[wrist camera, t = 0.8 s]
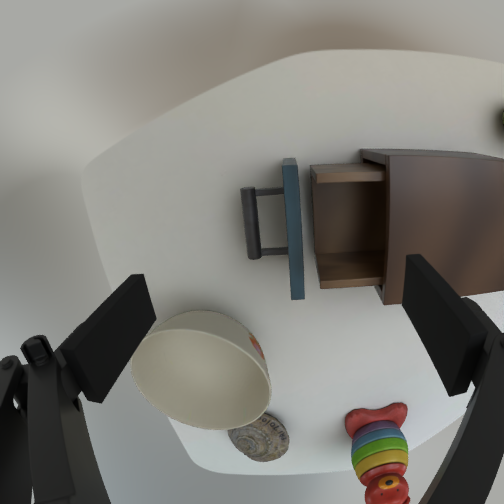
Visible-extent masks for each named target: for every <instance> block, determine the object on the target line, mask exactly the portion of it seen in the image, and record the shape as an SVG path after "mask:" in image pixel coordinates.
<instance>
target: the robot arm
mask: <svg viewBox="0 0 504 504" xmlns="http://www.w3.org/2000/svg"><path fill="white" fill-rule="evenodd" d="M402 306H403V308H404V310H405V311H406V313H407V315H408V317H409V318H410V320H411V322H412V324H413V326H414V328H415V329H416V331H417V333H418V335H419V337H420V339H421V341H422V342H423V344H424V346H425V348H426V350H427V352H428V354H429V356H430V358H431V360H432V362H433V364H434V366H435V368H436V370H437V372H438V374H439V376H440V378H441V380H442V382H443V385H444V387H445V389H446V391H447V393H448V395H449V397H451V396H455V395H458V394H462V393H466V392H467V390H468V387H469V385H470V382H471V380H472V382H473V384H474V386H475V390H474V392H473V394H472V396H471V399H470V401H469V403H468V405H467V407H466V408H467V410H466V413H465V415H464V418H463V420H462V422H461V425H460V427H459V429H458V432H457V434H456V436H455V438H454V440H453V442H452V445H451V447H450V449H449V451H448V453H447V455H446V457H445V459H444V461H443V463H442V465H441V466H440V468H439V470H438V472H437V474H436V475H435V477H434V479H433V481H432V482H431V484H430V486H429V487H428V489H427V491H426V492H425V494H424V496H423V497H422V499H421V501H420V502H419V504H485V501H486V499H487V497H488V495H489V492H490V490H491V487H492V485H493V482H494V479H495V477H496V474H497V471H498V469H499V466H500V463H501V460H502V457H503V454H504V333H502V332H501V331H500V330H499V329H498V327H497V326H496V325H495V324H494V323H493V321H492V320H491V319H490V318H489V317H488V316H487V314H486V313H485V312H484V311H482V309H481V308H480V306H479V305H478V304H477V303H476V302H474V301H473V300H471V299H469V298H467V297H464V298H461V297H460V296H459V295H458V294H457V293H456V292H455V291H454V289H453V288H452V287H451V286H450V285H449V284H448V283H447V282H446V281H445V279H444V278H443V277H442V276H441V275H440V274H439V273H438V272H437V271H436V270H435V269H434V268H433V267H432V265H431V264H430V263H429V262H428V261H427V260H426V259H425V258H424V257H423V256H422V255H421V254H409V255H406V265H405V277H404V288H403V298H402ZM156 319H157V318H156V315H155V312H154V309H153V305H152V302H151V299H150V295H149V292H148V288H147V285H146V281H145V277H144V274H133V275H130V276H129V277H128V278H127V279H126V280H125V281H124V282H123V283H122V284H121V285H120V286H119V287H118V288H117V289H116V290H115V291H114V292H113V293H112V294H111V295H110V296H109V297H108V298H107V299H106V300H105V301H104V302H103V303H102V304H101V305H100V306H99V307H98V308H97V309H96V310H95V311H94V312H93V313H92V314H91V315H90V316H89V318H88V319H87V320H86V321H85V322H83V323H81V324H80V325H79V326H78V327H77V328H76V329H75V330H74V331H73V333H71V334H70V335H69V336H68V338H66V340H65V341H64V342H63V343H62V344H61V345H60V346H59V347H58V348H57V349H56V350H55V351H54V352H53V350H52V348H51V346H50V344H49V342H48V340H47V338H46V336H44V335H37V336H33V337H31V338H29V339H28V340H26V341H25V342H24V343H23V344H22V346H21V348H20V349H21V351H22V352H23V354H24V356H25V358H26V360H27V362H28V364H26V365H22V364H21V362H20V360H19V359H18V357H17V356H15V355H12V356H7V357H5V358H3V359H2V360H1V361H0V504H31V497H32V486H33V493H34V499H35V503H34V504H111V502H110V499H109V497H108V494H107V491H106V489H105V486H104V483H103V480H102V477H101V474H100V471H99V468H98V465H97V461H96V458H95V455H94V451H93V448H92V444H91V441H90V437H89V433H88V429H87V425H86V421H85V416H84V412H83V408H82V403H81V401H80V399H79V397H78V395H79V394H80V392H81V391H82V392H83V393H84V395H85V397H86V398H87V400H88V401H92V402H97V403H102V402H103V401H104V399H105V397H106V396H107V394H108V392H109V391H110V389H111V388H112V386H113V385H114V383H115V382H116V380H117V378H118V377H119V375H120V374H121V372H122V371H123V369H124V367H125V366H126V364H127V362H128V361H129V360H130V358H131V357H132V355H133V354H134V352H135V351H136V349H137V348H138V346H139V345H140V343H141V342H142V340H143V339H144V337H145V336H146V334H147V333H148V331H149V330H150V328H151V327H152V325H153V324H154V322H155V321H156ZM13 398H14V399H15V401H16V402H17V404H18V408H17V409H16V408H15V406H14V403H13Z"/></svg>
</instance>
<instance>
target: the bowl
mask: <svg viewBox="0 0 504 504" xmlns="http://www.w3.org/2000/svg"><path fill="white" fill-rule="evenodd" d="M130 366H131V373H132V377H133V379H134V382H135V384H136V386H137V387H138V389H139V391H140V392H141V394H142V395H143V396H144V397H145V398H146V399H147V400H148V401H149V402H150V403H151V404H152V405H153V406H154V407H155V408H157V409H158V410H159V411H161V412H162V413H164V414H165V415H167V416H169V417H170V418H172V419H174V420H177V421H179V422H181V423H184V424H187V425H190V426H193V427H197V428H202V429H210V430H228V429H234V428H239V427H242V426H245V425H247V424H250V423H252V422H253V421H255V420H257V419H258V418H259V417H260V416H261V415H262V414H263V413H264V412H265V411H266V409H267V407H268V406H269V403H270V400H271V384H270V379H269V374H268V370H267V365H266V361H265V358H264V355H263V352H262V349H261V347H260V345H259V343H258V342H257V340H256V339H255V337H254V336H253V335H252V334H251V332H250V331H249V330H248V329H247V328H246V327H244V326H243V325H242V324H241V323H239V322H238V321H236V320H234V319H233V318H231V317H229V316H226V315H224V314H221V313H217V312H213V311H199V310H197V311H189V312H185V313H181V314H178V315H176V316H174V317H172V318H170V319H168V320H167V321H165V322H164V323H162V324H161V325H159V326H158V327H157V328H155V329H154V330H153V331H152V332H150V333H149V334H148V335H147V336H145V337H144V339H143V340H142V342H141V343H140V345H139V346H138V348H137V349H136V351H135V352H134V354H133V355H132V357H131V362H130Z"/></svg>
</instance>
